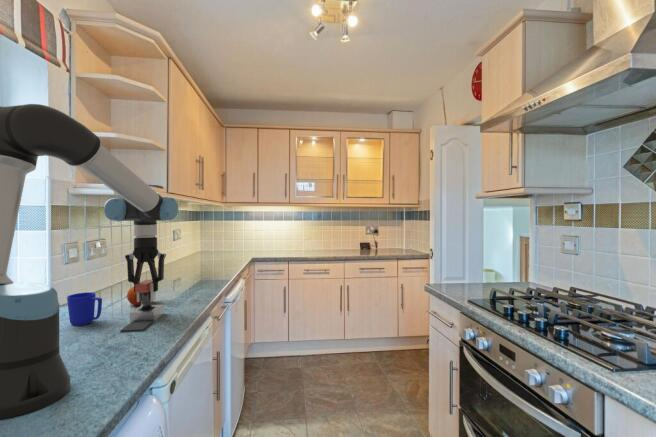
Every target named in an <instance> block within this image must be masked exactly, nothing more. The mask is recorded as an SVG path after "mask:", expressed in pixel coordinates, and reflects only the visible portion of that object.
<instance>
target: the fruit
mask: <svg viewBox="0 0 656 437" xmlns="http://www.w3.org/2000/svg"><path fill="white" fill-rule="evenodd" d="M126 294H127V295H126V299H127V301H128V302H129V303H130V304H131V305H132V306H141V301H140V302H137V293H135V292H134V286H132V287H130V288H129V289H128V291H127V293H126Z"/></svg>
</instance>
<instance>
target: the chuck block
mask: <svg viewBox="0 0 656 437" xmlns="http://www.w3.org/2000/svg"><path fill="white" fill-rule="evenodd" d="M164 310H165V309H164V304H152V309H150V310H141V305H139V306H138V307H137V308H135V309H134V310H132V311H130V312H129V324H130V323H131V322H135V321H153V323H154V322H155V321H157V320H158V319H159V318H160V317H162V316H163V315H164Z"/></svg>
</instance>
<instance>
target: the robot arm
mask: <svg viewBox="0 0 656 437" xmlns="http://www.w3.org/2000/svg"><path fill="white" fill-rule="evenodd" d="M42 156H43V157H45V156H46V157H52V158H56V159H59V160H61V161H63V162H65V163H66V164H67V165H69V166H72V167H79V168H80V169H82V170H83V171H85V172H86V173H87V174H89V175H90V176H92V177H93V178H94V179H95V180H97V181H98V182H100V183H101V184H103V185H104V186H105V187H107V188H108V189H109V190H111V191H112V192H114V193H115V194H117V195H118V196H119V197H113V198H112V197H111V198H109V199H108V200H106V202H105V203H104V206H103V212H104V215H105V217H106V218H107V219H109V220H110V221H112V222H122V221H123V222H124V221H125V222H126V221H127V222H130V221H131V222H132V221H133V236H134V238H133V251H132V253H129V254H126V255H125V256H124V258H125V260H126V264H127V266H126V267H127V282H129V283H132V284H133V287H134V292H135V284H137V283H139V282H141V275H142V271H143V267H144V264H145V263H147V265H148V268H149V271H150V276H151V280H152V281H153V282H152V283H151V301H152V302H154V301H156V299H157V298H156V295H157V294H156V292H157V291H158V290H159V282H161V281H163V280H164V278H165V274H164V273H165V258H166V256H167V254H166V253H162V252H160V251H159V250H158V237H157V235H158V221H161V222H165V221H172V220H175V219H176V217H177V216H178V213H179V205H178V202H177V200H176V199H174V197H168V196H165V197H163V196H161V195H160V194H159V193H158V192H157V191H156V190H154V189H153V187H151V186H149V185H148V184H147V182H145V181H144V180H143V179H141V178H140V177H139V176H138V175H137V174H136V173H134V171H132V170H131V169H130V168H129V167H127V166H126V165H125V164H124V163H123V162H121V160H119V158H117V157H116V156H115V155H113V154H112V153H111V152H110V151H109V150H108V149H107V148H105V147H104V146H103V145H102V141H101V139H100V137H99V136H97V134H95V133H94V132H93V131H92V130H90V128H88V127H86V125H85V124H82V123H81V122H80V121H79V120H77V119H75V118H73V117H72V116H70V115H68V114H67V113H65V112H63V111H61V110H58V109H56V108H55V107H52V106H51V107H50V106H48V105H44V104H38V103H27V104H20V105H19V104H18V105H10V106H9V105H8V106H0V420H2V419H8V418H9V419H10V418H15V417H18V416H22V415H25V414H29V413H31V412H32V413H33V412H35V411H37V410H41V409H43V408H46V407H47V406H50V405H52V404H54V403H55V402H58V401H59V400H60V399H62V398H63V397H65V396H66V395H68V393H69V391H70V390H71V388H72V387H71V386H72V384H71V375H70V373H68V369H67V367H66V365H65V363H64V360H63V358H62V357H61V352H60V302H59V296H58V295H59V294H58V292H57V290H56V289H55V288H54V287H52V286H50V285H48V284H43V283H36V282H35V283H33V282H29V283H22V282H21V283H19V282H18V283H16V282H15V283H14V281H13V280H12V279H11V278H10V277H9V276H8V274H7V272H8V267H9V261H10V257H11V252H12V248H13V247H12V246H13V241H14V237H15V233H16V232H15V231H16V228H17V221H18V217H19V216H18V215H19V213H20V212H19V211H20V206H21V201H22V196H23V191H24V186H25V180H26V176H27V175H28V174H30V173H32V172H33V171H35V170H36V169H37V164H38V158H39V157H42ZM156 257H157V259H158V262H157V264H158V266H157V267H158V268H156V260H155V259H156ZM135 259H136V260H137V261H136V267H134V266H135V264H134V263H135V261H134V260H135ZM134 268H136V269H134ZM157 269H158V271H157ZM140 301H141V293H137V302H140Z"/></svg>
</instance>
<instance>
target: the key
mask: <svg viewBox="0 0 656 437" xmlns="http://www.w3.org/2000/svg"><path fill="white" fill-rule="evenodd" d="M152 282H153V281H152V279H145V280H142V281H140V282H139V283H137V284H135V293H141V305H140V306H141V310H150V309H152V305H153V304H152V303H153V301H151V283H152Z"/></svg>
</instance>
